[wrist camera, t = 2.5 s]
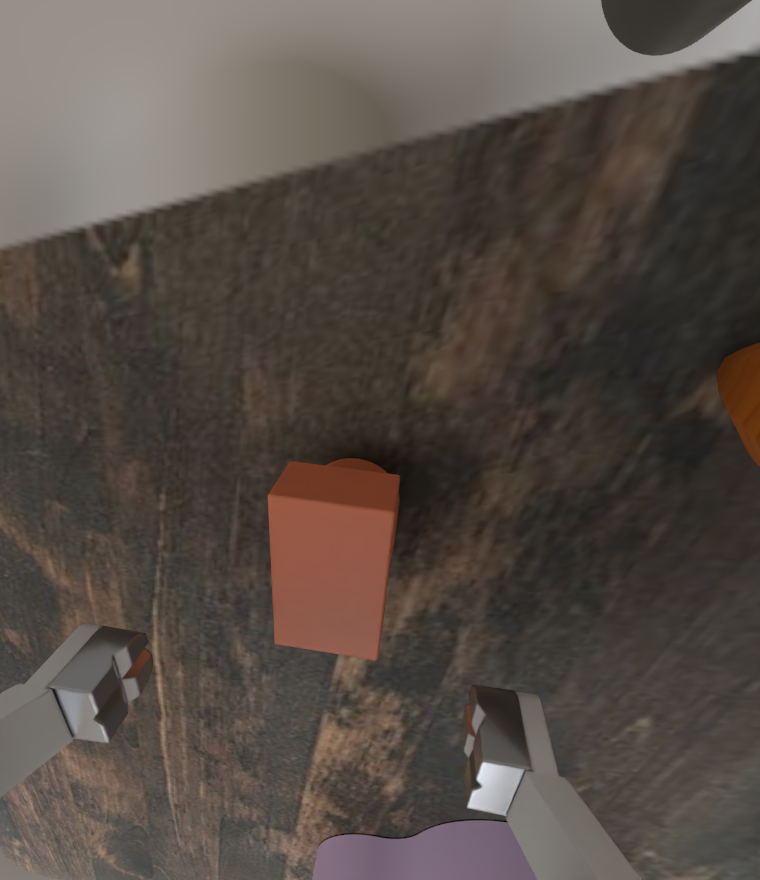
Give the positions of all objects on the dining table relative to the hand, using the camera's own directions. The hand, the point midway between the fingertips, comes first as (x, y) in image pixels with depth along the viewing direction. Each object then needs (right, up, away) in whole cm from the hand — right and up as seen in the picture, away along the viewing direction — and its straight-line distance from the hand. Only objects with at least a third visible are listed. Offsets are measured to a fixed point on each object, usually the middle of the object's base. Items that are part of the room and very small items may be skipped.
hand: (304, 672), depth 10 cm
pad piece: (+1, +3, +6) cm, 7 cm away
